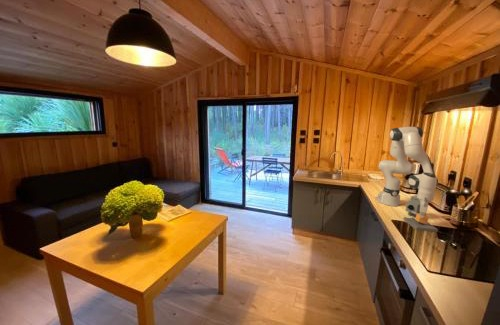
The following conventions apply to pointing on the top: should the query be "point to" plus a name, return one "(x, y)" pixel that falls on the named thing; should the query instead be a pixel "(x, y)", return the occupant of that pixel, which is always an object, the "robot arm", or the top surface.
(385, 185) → the robot arm
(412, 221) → the junction plate
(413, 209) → the circuit breaker
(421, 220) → the wire nut
